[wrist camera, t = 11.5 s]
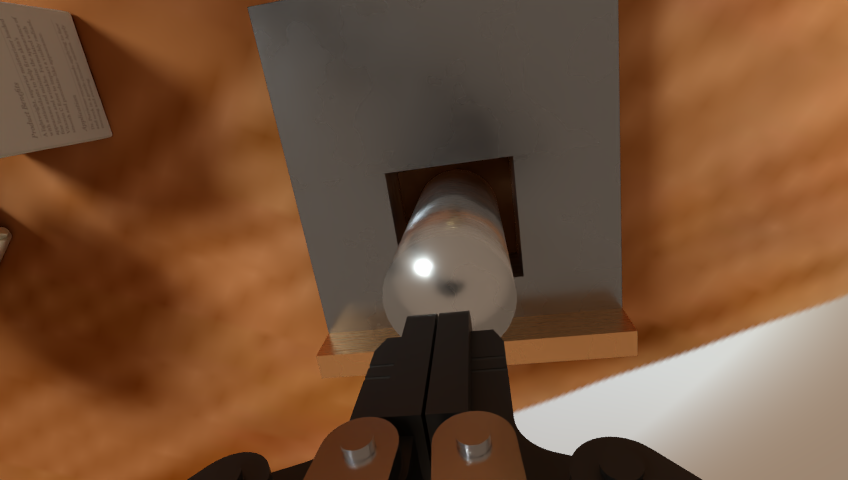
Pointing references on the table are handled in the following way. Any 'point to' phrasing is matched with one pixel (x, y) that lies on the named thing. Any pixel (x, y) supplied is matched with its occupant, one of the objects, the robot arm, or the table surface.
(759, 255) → the table surface
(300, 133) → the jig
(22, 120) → the skincare box
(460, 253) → the translucent grey cylinder
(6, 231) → the pneumatic valve
